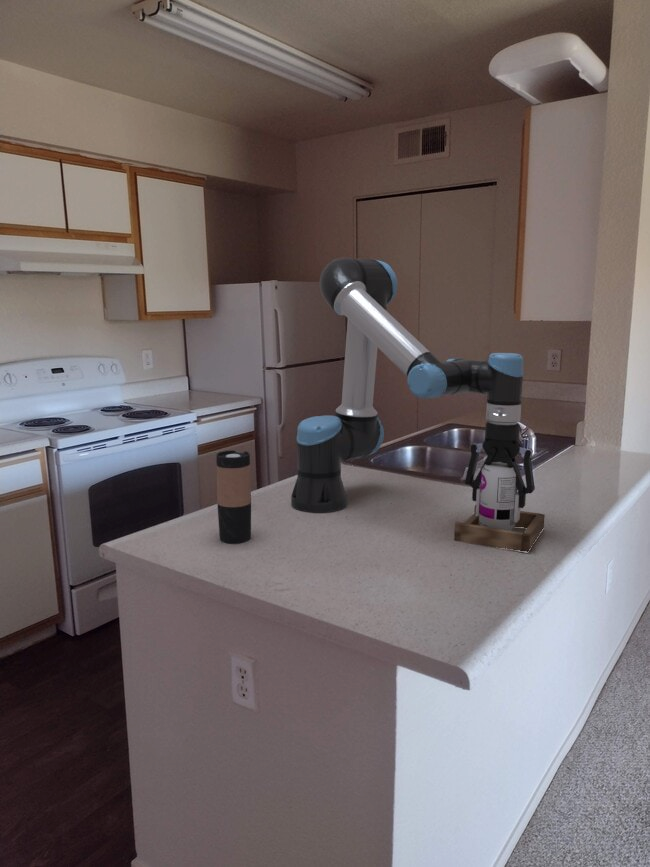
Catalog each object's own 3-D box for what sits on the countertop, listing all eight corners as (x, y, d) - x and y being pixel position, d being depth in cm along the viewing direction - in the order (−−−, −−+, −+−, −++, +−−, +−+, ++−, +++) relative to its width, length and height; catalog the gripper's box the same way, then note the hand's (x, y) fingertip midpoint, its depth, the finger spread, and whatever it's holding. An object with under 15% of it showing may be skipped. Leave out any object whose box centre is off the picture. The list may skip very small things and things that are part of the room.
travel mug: (224, 546, 144) (222, 459, 140) (214, 535, 151) (211, 452, 147) (256, 540, 148) (255, 455, 144) (245, 530, 154) (243, 448, 150)
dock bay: (454, 540, 148) (454, 523, 147) (475, 519, 162) (476, 504, 162) (527, 553, 140) (529, 536, 139) (543, 530, 155) (544, 514, 154)
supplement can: (476, 530, 149) (479, 467, 146) (481, 519, 156) (485, 459, 153) (512, 534, 146) (516, 470, 143) (516, 523, 153) (520, 462, 150)
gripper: (452, 420, 148) (448, 514, 153) (547, 429, 138) (540, 530, 143) (462, 415, 155) (458, 506, 159) (554, 423, 145) (547, 520, 149)
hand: (497, 517), depth 151 cm, fingers closed on supplement can, 8 cm apart
